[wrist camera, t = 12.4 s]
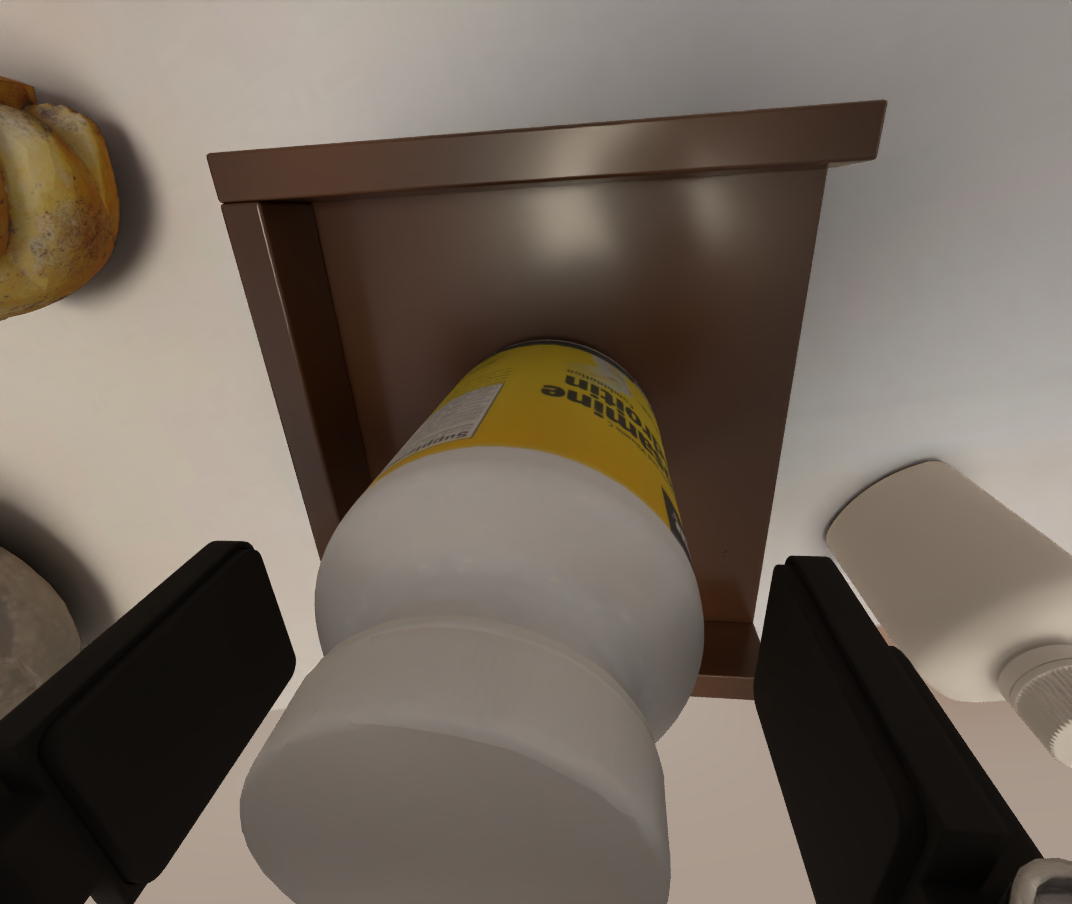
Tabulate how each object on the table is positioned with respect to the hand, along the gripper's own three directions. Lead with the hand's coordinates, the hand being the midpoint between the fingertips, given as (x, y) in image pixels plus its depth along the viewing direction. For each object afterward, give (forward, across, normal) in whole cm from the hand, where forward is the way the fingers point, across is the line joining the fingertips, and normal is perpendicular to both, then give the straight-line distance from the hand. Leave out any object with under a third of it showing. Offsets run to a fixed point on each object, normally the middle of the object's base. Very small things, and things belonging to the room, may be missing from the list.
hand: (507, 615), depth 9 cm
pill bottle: (+8, 0, 0) cm, 8 cm away
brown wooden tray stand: (+14, 0, 0) cm, 14 cm away
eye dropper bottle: (+14, -14, +6) cm, 21 cm away
